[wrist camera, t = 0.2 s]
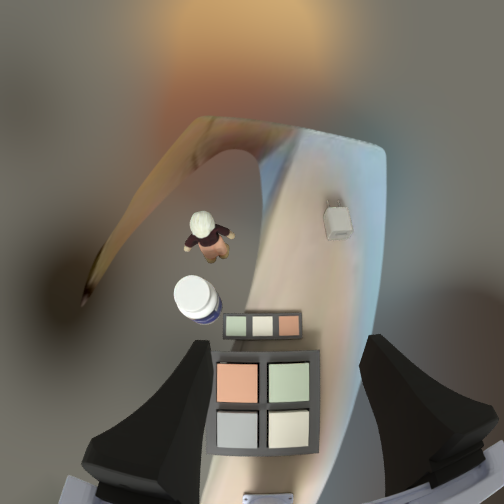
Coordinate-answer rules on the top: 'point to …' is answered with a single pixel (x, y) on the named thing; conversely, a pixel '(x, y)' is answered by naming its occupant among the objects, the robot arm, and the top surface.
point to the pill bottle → (198, 299)
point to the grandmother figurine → (208, 237)
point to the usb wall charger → (337, 223)
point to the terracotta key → (237, 383)
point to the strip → (262, 326)
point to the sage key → (288, 382)
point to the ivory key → (288, 428)
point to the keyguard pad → (266, 403)
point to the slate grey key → (237, 428)
